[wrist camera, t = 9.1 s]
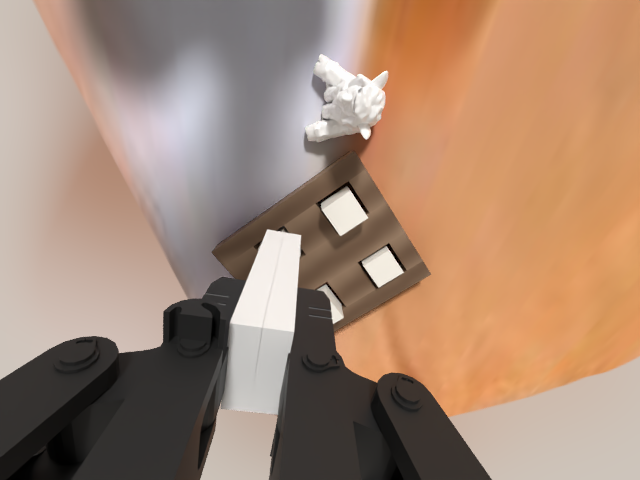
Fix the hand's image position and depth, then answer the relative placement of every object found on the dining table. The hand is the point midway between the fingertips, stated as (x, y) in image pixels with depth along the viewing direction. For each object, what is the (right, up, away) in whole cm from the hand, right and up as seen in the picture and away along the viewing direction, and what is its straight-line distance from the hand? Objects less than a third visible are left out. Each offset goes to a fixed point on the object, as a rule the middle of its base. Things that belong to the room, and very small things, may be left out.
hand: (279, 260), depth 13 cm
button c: (+5, +5, +25) cm, 26 cm away
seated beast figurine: (+5, +18, +23) cm, 30 cm away
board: (+2, -1, +30) cm, 30 cm away
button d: (+10, -2, +30) cm, 32 cm away
